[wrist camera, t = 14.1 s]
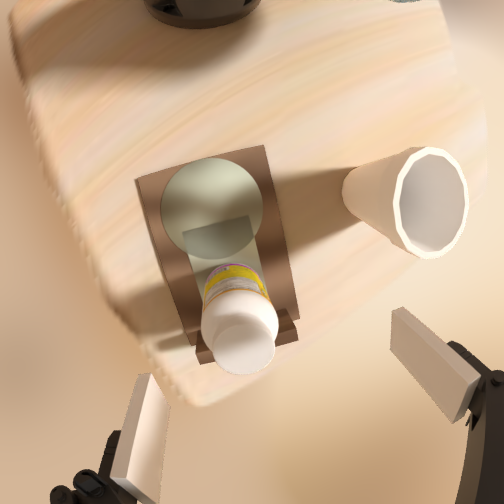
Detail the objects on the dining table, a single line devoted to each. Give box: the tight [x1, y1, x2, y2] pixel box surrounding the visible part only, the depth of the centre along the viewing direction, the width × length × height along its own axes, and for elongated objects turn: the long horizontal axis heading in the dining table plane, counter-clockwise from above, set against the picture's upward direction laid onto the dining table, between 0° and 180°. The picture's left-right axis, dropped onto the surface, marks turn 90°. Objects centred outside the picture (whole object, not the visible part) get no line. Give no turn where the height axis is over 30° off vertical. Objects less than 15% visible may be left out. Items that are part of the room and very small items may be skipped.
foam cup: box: [341, 147, 469, 259], centre depth 26 cm, size 10×9×13 cm
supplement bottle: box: [201, 263, 279, 375], centre depth 26 cm, size 7×7×13 cm
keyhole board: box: [137, 145, 300, 365], centre depth 29 cm, size 21×14×5 cm, turn 13°
